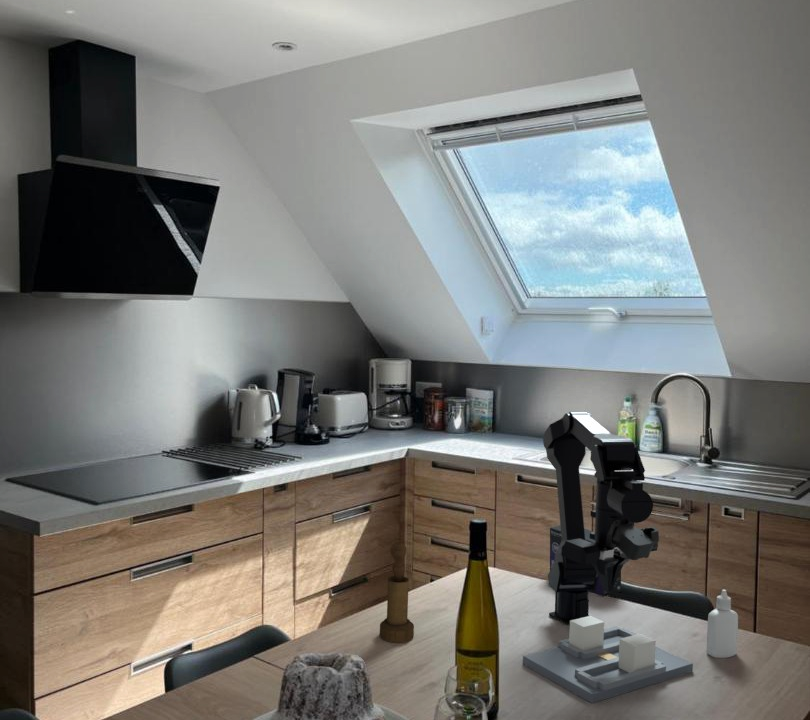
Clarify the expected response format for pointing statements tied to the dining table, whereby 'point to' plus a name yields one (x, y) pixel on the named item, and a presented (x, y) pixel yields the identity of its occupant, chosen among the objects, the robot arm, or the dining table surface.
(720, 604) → the eye dropper bottle
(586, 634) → the tab
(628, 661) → the tab
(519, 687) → the dining table surface
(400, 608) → the mortar and pestle
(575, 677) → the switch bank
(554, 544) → the box
